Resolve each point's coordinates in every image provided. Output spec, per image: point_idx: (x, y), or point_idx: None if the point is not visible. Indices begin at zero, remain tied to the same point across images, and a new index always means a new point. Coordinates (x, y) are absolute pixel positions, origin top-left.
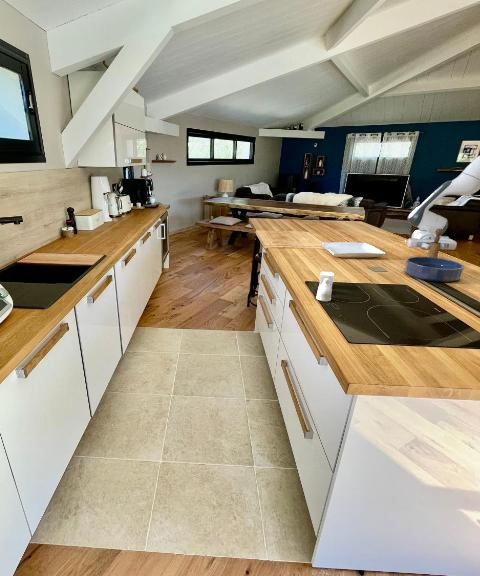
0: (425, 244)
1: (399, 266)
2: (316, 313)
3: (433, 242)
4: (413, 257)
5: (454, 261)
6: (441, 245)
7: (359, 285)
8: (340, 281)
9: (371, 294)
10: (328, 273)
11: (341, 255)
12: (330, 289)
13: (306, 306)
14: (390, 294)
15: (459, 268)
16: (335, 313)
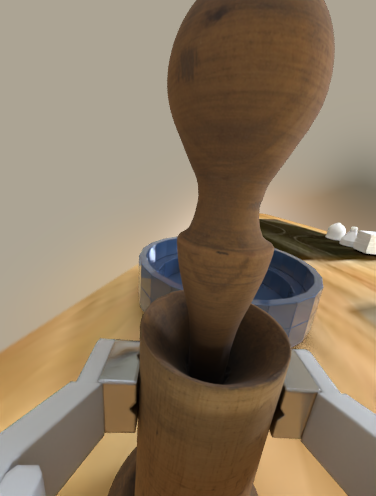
0: (365, 419)
1: (363, 384)
2: (315, 229)
3: (248, 383)
4: (309, 290)
5: (146, 268)
6: (123, 350)
7: (332, 255)
8: (369, 262)
9: (299, 243)
10: (374, 233)
11: None
12: (331, 226)
13: None
14: (279, 244)
15: (172, 238)
16: (303, 229)
